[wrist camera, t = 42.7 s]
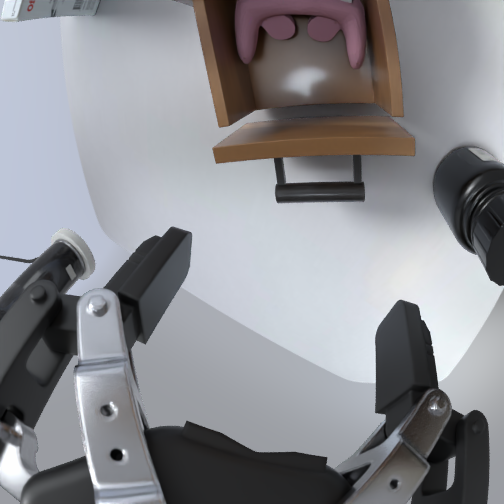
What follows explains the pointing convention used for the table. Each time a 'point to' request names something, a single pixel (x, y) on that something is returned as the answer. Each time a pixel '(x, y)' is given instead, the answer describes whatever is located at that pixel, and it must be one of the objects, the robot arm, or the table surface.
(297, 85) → the drawer
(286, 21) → the video game controller
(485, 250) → the ink bottle
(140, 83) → the table surface
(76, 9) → the ink box
